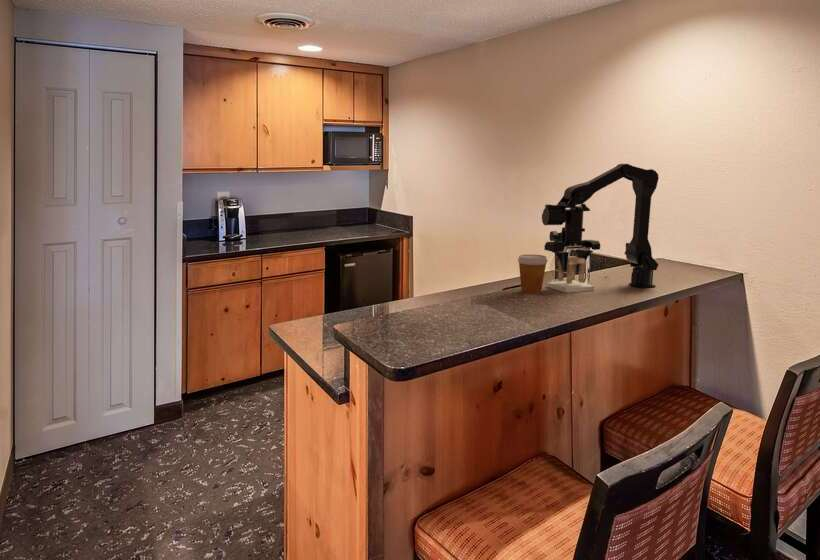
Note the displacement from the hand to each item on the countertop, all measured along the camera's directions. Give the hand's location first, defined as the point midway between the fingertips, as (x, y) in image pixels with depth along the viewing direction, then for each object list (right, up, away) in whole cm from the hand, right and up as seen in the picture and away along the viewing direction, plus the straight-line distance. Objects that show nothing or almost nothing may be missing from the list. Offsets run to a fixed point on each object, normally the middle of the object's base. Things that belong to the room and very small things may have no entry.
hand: (571, 271), depth 191 cm
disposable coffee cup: (-15, -7, -5) cm, 17 cm away
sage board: (0, -6, +1) cm, 6 cm away
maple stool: (0, -3, +1) cm, 4 cm away
